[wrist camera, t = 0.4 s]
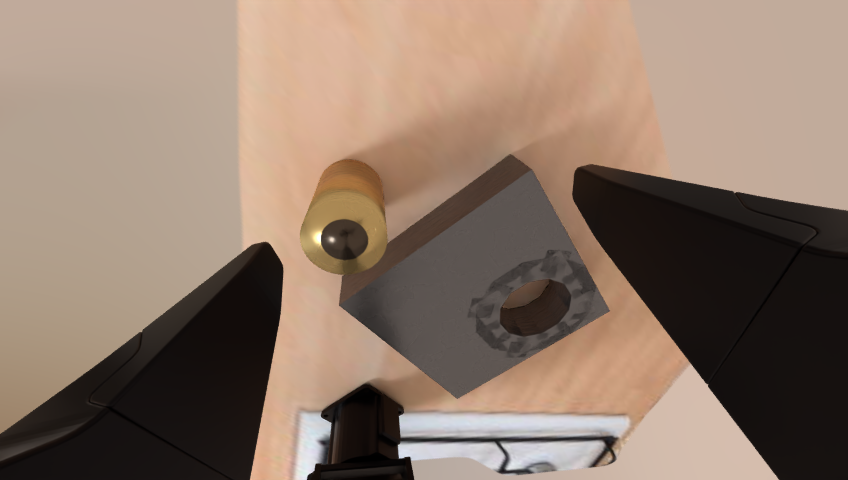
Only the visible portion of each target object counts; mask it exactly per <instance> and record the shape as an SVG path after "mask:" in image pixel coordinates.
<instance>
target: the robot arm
mask: <svg viewBox="0 0 848 480" xmlns="http://www.w3.org/2000/svg"><path fill="white" fill-rule="evenodd" d="M572 195H573V200H574V202H575V204H576V206H577V207H578V209H579V211H580V212H581V214H582V216H583V218H584V219H585V221H586V223H587V224H588V226H589V228H590V230H591V231H592V233H593V235H594V236H595V238H596V239H597V241H598V242H599V244H600V245H601V246H602V248H603V249H604V250H605V252H606V253H607V254H608V256H609V257H610V258H611V260H612V261H613V262H614V263H615V265H616V266H617V267H618V269H619V270H620V271H621V273H622V274H623V275H624V277H625V278H626V279H627V281H628V282H629V283H630V284H631V286H632V287H633V288H634V290H635V291H636V292H637V294H638V295H639V296H640V298H641V299H642V300H643V302H644V303H645V304H646V305H647V307H648V308H649V309H650V311H651V312H652V313H653V315H654V316H655V317H656V319H657V320H658V321H659V322H660V324H661V325H662V326H663V328H664V329H665V330H666V332H667V333H668V334H669V336H670V337H671V338H672V340H673V341H674V342H675V343H676V345H677V346H678V347H679V349H680V350H681V351H682V353H683V354H684V355H685V357H686V358H687V359H688V361H689V362H690V363H691V364H692V366H693V367H694V368H695V370H696V371H697V372H698V373H699V375H700V376H701V378H702V379H703V380H704V381H705V383H706V384H708V387H709V388H710V390H711V391H712V392H713V394H714V395H715V396H716V398H717V399H718V400H719V401H720V403H721V404H722V405H723V407H724V408H725V409H726V410H727V412H728V413H729V415H730V416H731V417H732V419H733V420H734V421H735V422H736V424H737V425H738V426H739V428H740V429H741V430H742V432H743V433H744V434H745V436H746V437H747V438H748V439H749V441H750V442H751V443H752V445H753V446H754V447H755V449H756V450H757V451H758V453H759V454H760V455H761V456H762V458H763V459H764V461H765V462H766V463H767V464H768V465H769V467H770V468H771V470H772V471H773V472H774V474H775V475H776V476H777V478H778V479H779V480H848V211H846V210H839V209H833V208H826V207H820V206H814V205H808V204H801V203H795V202H788V201H783V200H778V199H772V198H767V197H760V196H755V195H750V194H745V193H740V192H736V193H734V192H733V191H729V190H724V189H719V188H713V187H708V186H703V185H697V184H693V183H686V182H682V181H676V180H672V179H666V178H661V177H656V176H651V175H646V174H640V173H635V172H630V171H625V170H619V169H614V168H609V167H604V166H599V165H593V164H590V165H585V166H581V167H578V168H577V169H576V170H575V173H574V182H573V192H572ZM282 286H283V265H282V262H281V261H280V259H279V257H278V256H277V254H276V253H275V251H274V249H273V248H272V246H271V245H270V244H269V243H267V242H261V243H257V244H253V245H251V246H250V247H249V248H247V249H246V250H245V251H243V252H242V253H241V254H240V255H238V256H237V257H236V258H234V259H233V260H232V261H231V262H229V263H228V264H227V265H226V266H224V267H223V268H222V269H220V270H219V271H218V272H217V273H215V274H214V275H213V276H211V277H210V278H209V279H208V280H206V281H205V282H204V283H202V284H201V285H200V286H198V287H197V288H196V289H195V290H193V291H192V292H191V293H189V294H188V295H187V296H186V297H185V298H183V299H182V300H181V301H179V302H178V303H177V304H175V305H174V306H173V307H172V308H170V309H169V310H168V311H166V312H165V313H164V314H163V315H161V316H160V317H159V318H157V319H156V320H155V321H153V322H152V323H151V324H150V325H148V326H147V327H146V328H145V329H143V331H142V332H139V333H138V334H137V335H135V336H134V337H133V338H132V339H130V340H129V341H128V342H126V343H125V344H124V345H122V346H121V347H120V348H118V349H117V350H116V351H114V352H113V353H112V354H111V355H109V356H108V357H107V358H105V359H104V360H103V361H101V362H100V363H99V364H97V365H96V366H94V367H93V368H92V369H90V370H89V371H88V372H86V373H85V374H83V375H82V376H81V377H79V378H78V379H77V380H75V381H74V382H72V383H71V384H70V385H68V386H67V387H65V388H64V389H63V390H61V391H60V392H58V393H57V394H56V395H54V396H53V397H51V398H50V399H49V400H47V401H46V402H45V403H43V404H42V405H40V406H39V407H38V408H36V409H35V410H33V411H32V412H30V413H29V414H28V415H27V416H25V417H24V418H22V419H21V420H19V421H18V422H17V423H15V424H14V425H12V426H11V427H10V428H8V429H7V430H5V431H4V432H2V433H1V434H0V480H250V476H251V471H252V466H253V460H254V455H255V450H256V444H257V439H258V433H259V428H260V423H261V417H262V412H263V407H264V401H265V396H266V391H267V385H268V380H269V374H270V369H271V364H272V358H273V353H274V348H275V342H276V337H277V332H278V326H279V321H280V314H281V303H282ZM403 413H404V408H403V407H402V406H401V405H399V404H398V403H396V402H395V401H393V400H392V399H390V398H389V397H387V396H386V395H384V394H382V393H381V392H379V391H378V390H376V389H375V388H373V387H372V386H370V385H368V384H365V385H362V386H361V387H359V388H358V389H356V390H355V391H353V392H351V393H350V394H348V395H347V396H345V397H343V398H342V399H340V400H339V401H337V402H335V403H334V404H332V405H331V406H329V407H327V408H326V409H324V410H323V411H322V412H321V417H322V418H323V419H325V420H327V421H329V422H331V423H332V424H331V434H330V444H329V454H328V464H322V463H318V464H316V465H315V471H313V473H311V474H309V475H308V477H307V480H414V476H413V470H412V465H411V459H410V457H404V458H400V459H399V455H398V445H399V444H400V442H401V438H400V425H399V416H400V415H402V414H403Z"/></svg>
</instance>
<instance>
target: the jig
mask: <svg viewBox="0 0 848 480" xmlns="http://www.w3.org/2000/svg"><path fill="white" fill-rule="evenodd" d="M544 279H550V281H549V285H548V287H547V288H546V289H545V291H544V292H543V293H542V295H541V296H540V297H539V298H538V299H536V300H534V301H533V302H531V303H530V304H528V305H526V306H524V307H518V308H513V309H506V308H502V305H503V304H504V302H505V301H506V299H507V298H508V296H509V295H510V293H512V292H514V291H515V290H517V289H518V288H520V287H522V286H523V285H525V284H526V283H528V282H533V281H538V280H544ZM339 306H341V307H342V308H343V309H344V310H346V311H347V312H348V313H349V314H351V315H352V316H353V317H355V318H356V319H357V320H358V321H360V322H361V323H362V324H363V325H365V326H366V327H367V328H368V329H370V330H371V331H372V332H374V333H375V334H376V335H377V336H379V337H380V338H381V339H382V340H384V341H385V342H386V343H387V344H389V345H390V346H391V347H393V348H394V349H395V350H396V351H398V352H399V353H400V354H401V355H403V356H404V357H405V358H406V359H408V360H409V361H410V362H412V363H413V364H414V365H415V366H417V367H418V368H419V369H420V370H422V371H423V372H424V373H425V374H427V375H428V376H429V377H431V378H432V379H433V380H434V381H436V382H437V383H438V384H439V385H441V386H442V387H443V388H444V389H446V390H447V391H448V392H450V393H451V394H452V395H453V396H455V397H456V398H457V399H458V398H460V397H461V396H463V395H465V394H467V393H468V392H470V391H472V390H473V389H475V388H477V387H479V386H480V385H482V384H484V383H486V382H487V381H489V380H491V379H493V378H494V377H496V376H498V375H500V374H501V373H503V372H505V371H507V370H508V369H510V368H512V367H513V366H515V365H517V364H519V363H520V362H522V361H524V360H526V359H527V358H529V357H531V356H533V355H534V354H536V353H538V352H540V351H541V350H543V349H545V348H547V347H548V346H550V345H552V344H553V343H555V342H557V341H559V340H560V339H562V338H564V337H566V336H567V335H569V334H571V333H573V332H574V331H576V330H578V329H580V328H581V327H583V326H585V325H587V324H588V323H590V322H592V321H593V320H595V319H597V318H599V317H600V316H602V315H604V314H606V313H607V312H609V311H610V310H609V308H608V307H607V305H606V303H605V301H604V299H603V297H602V296H601V294H600V292H599V290H598V288H597V287H596V285H595V283H594V281H593V279H592V278H591V276H590V274H589V272H588V270H587V268H586V267H585V265H584V263H583V261H582V259H581V258H580V256H579V254H578V252H577V250H576V248H575V247H574V245H573V243H572V241H571V239H570V238H569V236H568V234H567V232H566V230H565V229H564V227H563V225H562V223H561V221H560V219H559V218H558V216H557V214H556V212H555V210H554V209H553V207H552V205H551V203H550V201H549V200H548V198H547V196H546V194H545V192H544V190H543V189H542V187H541V185H540V183H539V181H538V180H537V178H536V176H535V174H534V172H533V170H532V169H531V168H529V167H528V166H527V165H525V164H524V163H522V162H521V161H520V160H518V159H517V158H515V157H514V156H512V155H511V154H510V155H509V156H507V157H506V158H505V159H503V160H502V161H501V162H499V163H498V164H496V165H495V166H494V167H492V168H491V169H490V170H488V171H487V172H485V173H484V174H483V175H481V176H480V177H479V178H477V179H476V180H474V181H473V182H472V183H470V184H469V185H468V186H466V187H465V188H463V189H462V190H461V191H459V192H458V193H456V194H455V195H454V196H452V197H451V198H450V199H448V200H447V201H445V202H444V203H443V204H441V205H440V206H439V207H437V208H436V209H434V210H433V211H432V212H430V213H429V214H428V215H426V216H425V217H423V218H422V219H421V220H419V221H418V222H417V223H415V224H414V225H412V226H411V227H410V228H408V229H407V230H406V231H404V232H403V233H401V234H400V235H399V236H397V237H396V238H395V239H393V240H392V241H390V242H389V243H388V244H387V246H386V250H385V252H384V254H383V256H382V257H381V259H380V260H379V261H378V262H377V263H376V264H375V265H374V266H372V267H371V268H369V269H367V270H365V271H363V272H360V273H356V274H349V275H344V276H342V284H341V293H340V301H339Z"/></svg>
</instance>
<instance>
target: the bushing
mask: <svg viewBox="0 0 848 480" xmlns="http://www.w3.org/2000/svg"><path fill="white" fill-rule="evenodd" d="M300 242H301V246H302V249H303V251H304V253H305V254H306V256H307V257H308V258H309V260H310V261H311V262H313V263H314V264H315V265H316V266H318V267H319V268H321V269H323V270H325V271H328V272H331V273H335V274H342V275H349V274H356V273H360V272H363V271H365V270H367V269H369V268H371V267H372V266H374V265H375V264H376V263H377V262H378V261H379V260H380V259H381V257H382V256H383V254H384V252H385V250H386V246H387V228H386V218H385V208H384V198H383V188H382V183H381V180H380V178H379V176H378V174H377V173H376V172H375V171H374V170H373V169H372V168H371V167H370V166H368V165H367V164H365V163H363V162H360V161H356V160H342V161H338V162H335V163H333V164H332V165H330V166H329V167H328V168H327V169H326V170H325V171H324V172H323V174H322V176H321V178H320V180H319V183H318V186H317V188H316V191H315V193H314V196H313V198H312V201H311V203H310V206H309V209H308V211H307V214H306V216H305V219H304V221H303V224H302V226H301V231H300Z"/></svg>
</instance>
